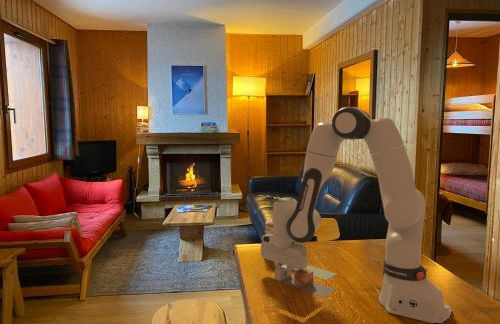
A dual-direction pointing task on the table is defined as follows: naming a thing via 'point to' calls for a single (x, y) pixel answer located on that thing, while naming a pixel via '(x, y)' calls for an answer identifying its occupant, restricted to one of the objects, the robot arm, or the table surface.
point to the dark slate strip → (289, 280)
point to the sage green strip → (318, 272)
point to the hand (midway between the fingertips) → (283, 274)
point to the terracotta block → (303, 278)
